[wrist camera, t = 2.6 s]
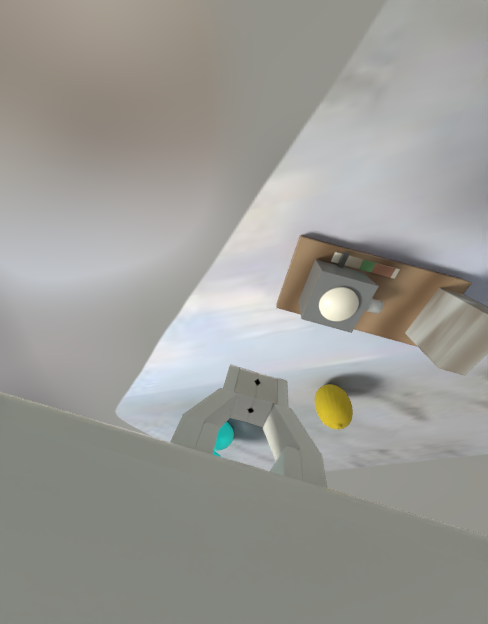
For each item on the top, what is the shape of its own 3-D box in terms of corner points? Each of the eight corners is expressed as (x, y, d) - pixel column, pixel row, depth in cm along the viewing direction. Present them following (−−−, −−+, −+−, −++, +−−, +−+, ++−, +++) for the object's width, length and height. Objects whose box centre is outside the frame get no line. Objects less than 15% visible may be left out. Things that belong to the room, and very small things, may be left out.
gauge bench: (462, 278, 26) (533, 309, 19) (413, 341, 31) (455, 384, 24) (300, 235, 27) (308, 248, 20) (276, 303, 32) (275, 334, 24)
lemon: (318, 371, 37) (327, 411, 30) (349, 379, 36) (366, 421, 29) (307, 392, 39) (313, 434, 32) (336, 400, 39) (349, 443, 32)
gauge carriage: (391, 263, 25) (417, 278, 20) (359, 318, 29) (375, 340, 24) (321, 244, 25) (330, 254, 21) (298, 301, 29) (302, 320, 24)
